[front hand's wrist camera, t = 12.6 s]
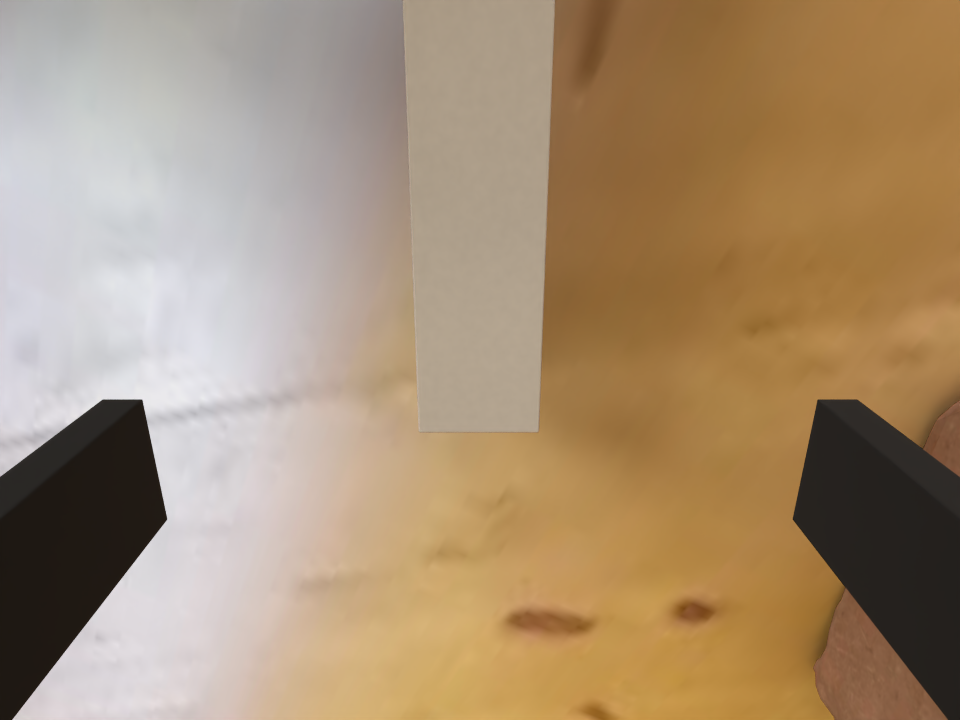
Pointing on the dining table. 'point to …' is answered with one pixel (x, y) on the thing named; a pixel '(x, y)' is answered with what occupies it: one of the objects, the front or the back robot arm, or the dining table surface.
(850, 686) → the stone
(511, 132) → the bar
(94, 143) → the dining table surface
